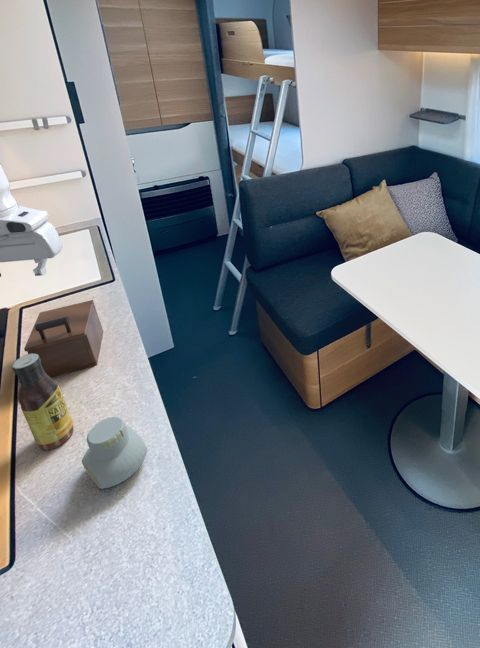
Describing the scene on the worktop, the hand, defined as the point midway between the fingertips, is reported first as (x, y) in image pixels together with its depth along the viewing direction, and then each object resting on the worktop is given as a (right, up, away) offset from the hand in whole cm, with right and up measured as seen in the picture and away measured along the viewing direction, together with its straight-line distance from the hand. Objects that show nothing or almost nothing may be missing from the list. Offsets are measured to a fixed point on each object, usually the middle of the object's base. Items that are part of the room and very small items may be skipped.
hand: (18, 276), depth 92 cm
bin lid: (+3, -14, +9) cm, 17 cm away
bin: (+2, -23, +14) cm, 27 cm away
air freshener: (+31, -34, -14) cm, 48 cm away
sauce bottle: (+15, -32, -8) cm, 36 cm away
